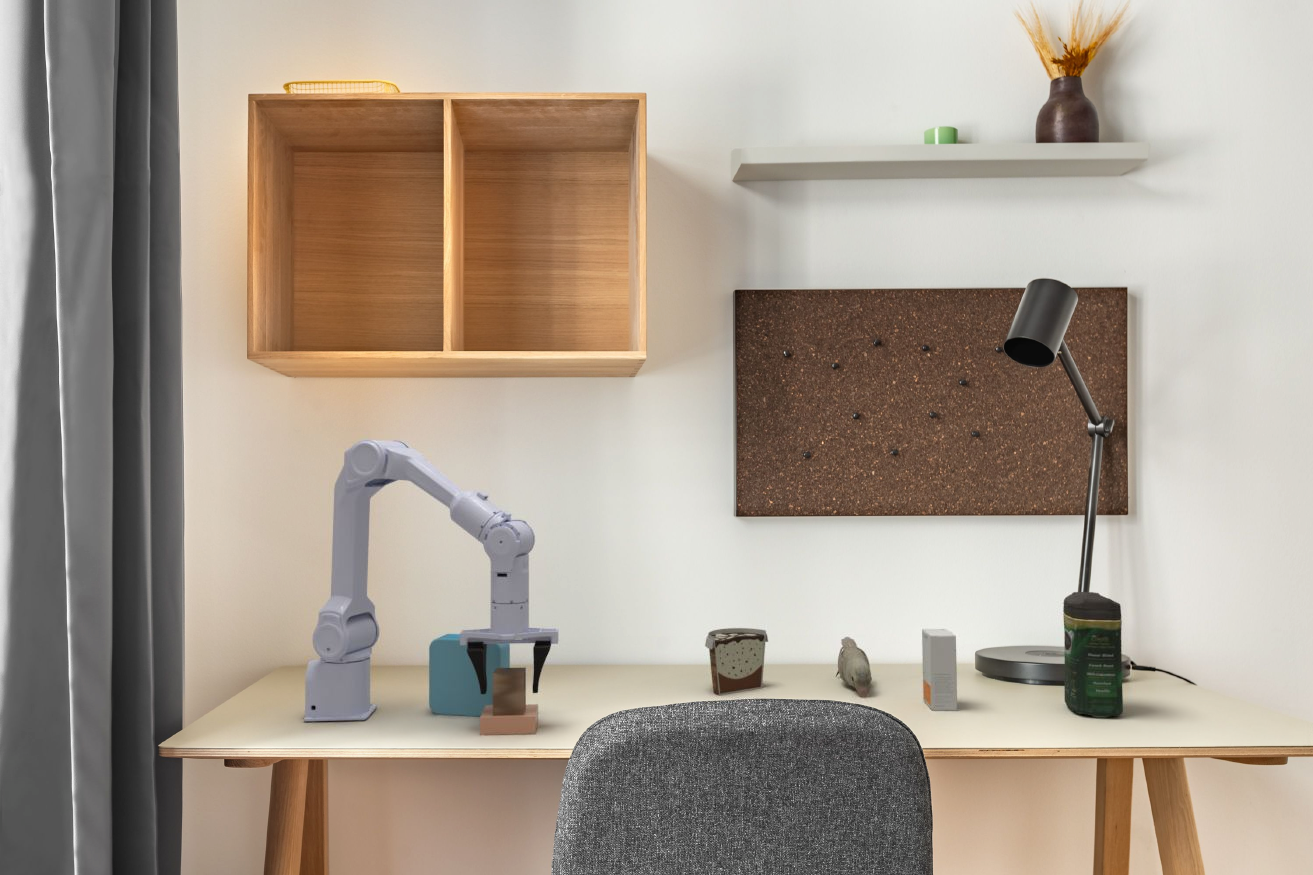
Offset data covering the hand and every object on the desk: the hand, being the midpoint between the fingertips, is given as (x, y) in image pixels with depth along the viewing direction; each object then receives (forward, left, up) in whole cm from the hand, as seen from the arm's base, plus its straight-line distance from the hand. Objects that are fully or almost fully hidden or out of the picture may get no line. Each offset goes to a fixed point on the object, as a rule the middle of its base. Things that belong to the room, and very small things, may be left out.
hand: (509, 692), depth 139 cm
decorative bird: (+59, +21, -6) cm, 62 cm away
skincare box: (+69, +6, -6) cm, 69 cm away
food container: (+37, +21, -6) cm, 43 cm away
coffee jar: (+92, +1, -6) cm, 92 cm away
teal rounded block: (-7, +9, -6) cm, 13 cm away
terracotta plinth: (0, 0, -5) cm, 5 cm away
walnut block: (0, 0, -3) cm, 3 cm away
